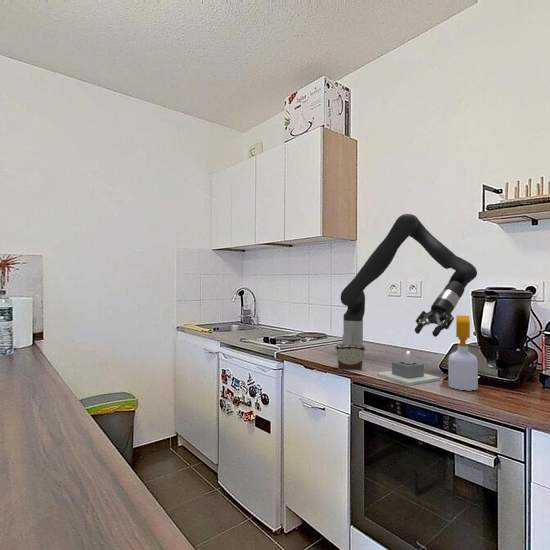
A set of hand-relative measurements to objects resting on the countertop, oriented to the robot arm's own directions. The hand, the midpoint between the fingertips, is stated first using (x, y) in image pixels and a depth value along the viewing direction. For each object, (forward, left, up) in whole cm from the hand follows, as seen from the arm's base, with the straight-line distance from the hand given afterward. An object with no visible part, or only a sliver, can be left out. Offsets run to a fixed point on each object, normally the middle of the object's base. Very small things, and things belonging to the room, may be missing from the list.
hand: (424, 333), depth 149 cm
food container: (-22, -19, -16) cm, 33 cm away
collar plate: (0, -9, -16) cm, 18 cm away
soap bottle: (+18, -2, -16) cm, 24 cm away
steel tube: (0, -9, -15) cm, 17 cm away
